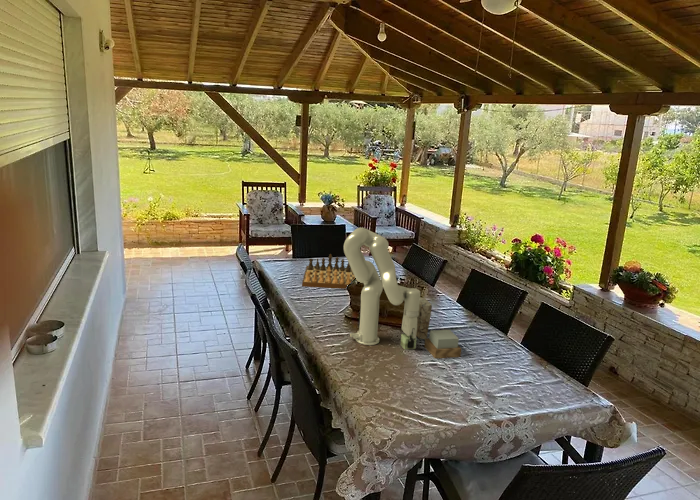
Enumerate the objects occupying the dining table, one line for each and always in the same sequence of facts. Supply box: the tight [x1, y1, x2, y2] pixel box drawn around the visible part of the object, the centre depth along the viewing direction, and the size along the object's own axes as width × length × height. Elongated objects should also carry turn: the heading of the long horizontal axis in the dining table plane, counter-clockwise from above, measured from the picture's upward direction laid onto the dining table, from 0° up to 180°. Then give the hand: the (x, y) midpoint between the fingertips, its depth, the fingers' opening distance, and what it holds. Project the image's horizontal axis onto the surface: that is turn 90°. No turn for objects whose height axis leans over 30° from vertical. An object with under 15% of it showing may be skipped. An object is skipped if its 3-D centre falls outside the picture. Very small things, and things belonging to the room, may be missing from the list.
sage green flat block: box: [428, 329, 460, 349], centre depth 267 cm, size 11×11×5 cm
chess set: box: [301, 253, 355, 290], centre depth 373 cm, size 40×40×15 cm
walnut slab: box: [424, 337, 462, 360], centre depth 268 cm, size 14×14×5 cm
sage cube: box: [400, 333, 417, 350], centre depth 271 cm, size 6×6×6 cm
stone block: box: [416, 297, 433, 340], centre depth 286 cm, size 13×7×20 cm, turn 18°
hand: (408, 344), depth 272 cm, fingers closed on sage cube, 6 cm apart
